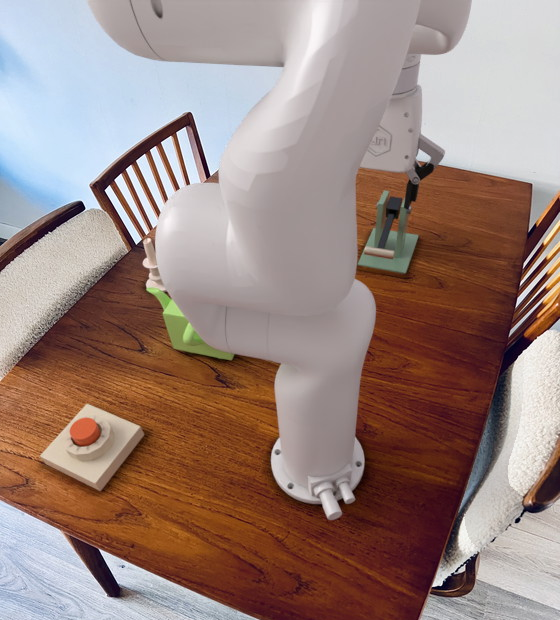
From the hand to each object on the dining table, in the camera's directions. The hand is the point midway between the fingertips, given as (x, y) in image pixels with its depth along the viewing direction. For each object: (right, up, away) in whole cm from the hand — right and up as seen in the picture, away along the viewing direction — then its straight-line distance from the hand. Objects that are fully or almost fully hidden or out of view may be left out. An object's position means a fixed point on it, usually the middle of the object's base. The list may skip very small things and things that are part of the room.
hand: (376, 199), depth 78 cm
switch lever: (+4, -1, +13) cm, 14 cm away
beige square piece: (-41, -37, -4) cm, 55 cm away
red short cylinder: (-41, -35, -7) cm, 54 cm away
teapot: (-26, -21, +9) cm, 34 cm away
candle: (-37, -10, +20) cm, 43 cm away
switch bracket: (+6, -3, +21) cm, 22 cm away
